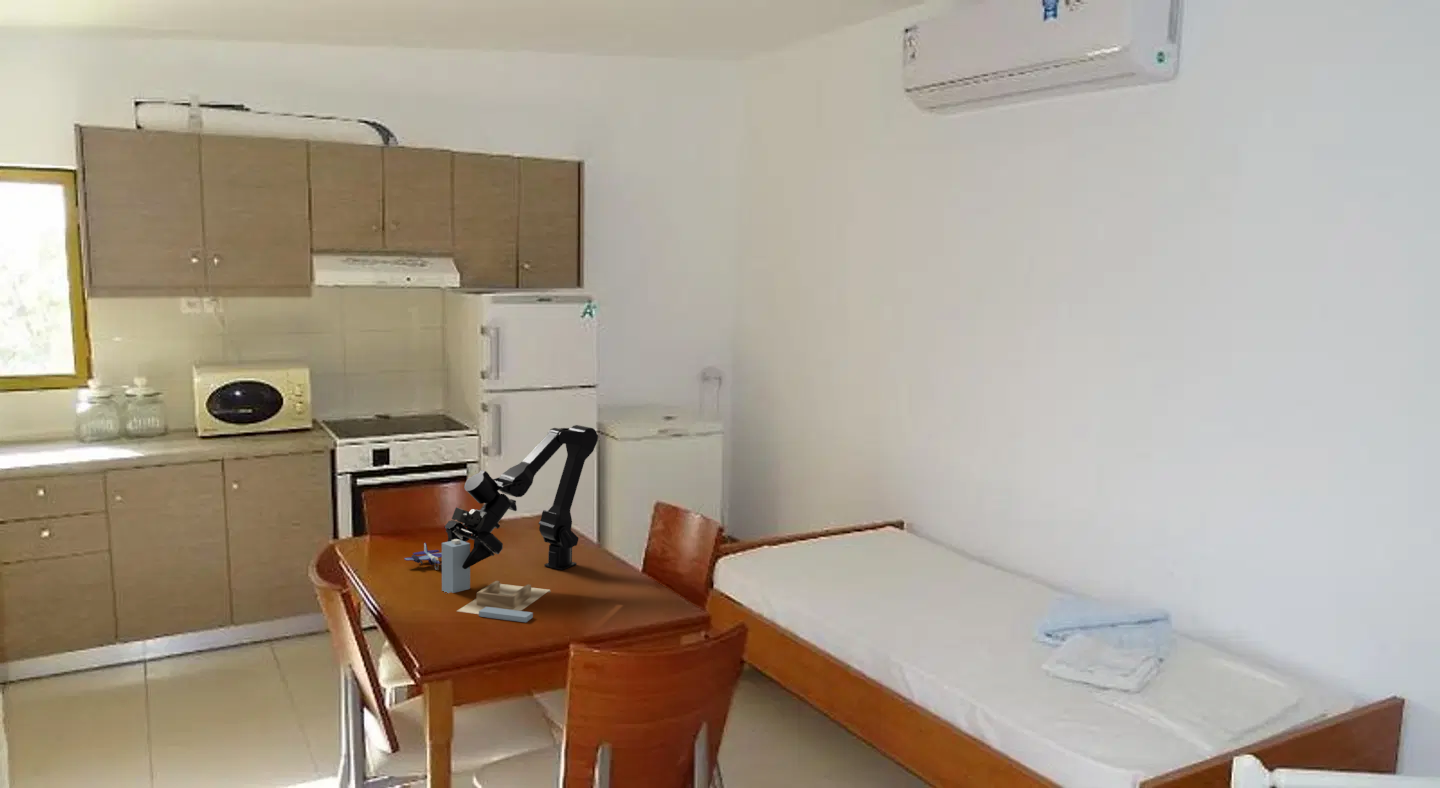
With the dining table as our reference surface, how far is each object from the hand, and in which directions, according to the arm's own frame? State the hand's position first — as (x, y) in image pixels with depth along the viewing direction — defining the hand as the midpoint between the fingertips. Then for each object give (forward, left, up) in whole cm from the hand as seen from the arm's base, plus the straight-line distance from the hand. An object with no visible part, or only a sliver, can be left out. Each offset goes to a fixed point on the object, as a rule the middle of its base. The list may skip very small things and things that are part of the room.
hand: (453, 564), depth 258 cm
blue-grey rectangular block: (-1, 0, -7) cm, 7 cm away
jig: (-1, +16, -7) cm, 18 cm away
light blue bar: (+8, +24, -6) cm, 26 cm away
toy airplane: (-13, -20, -8) cm, 25 cm away
